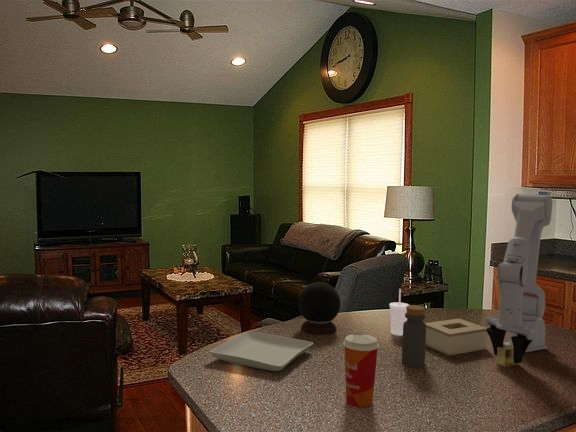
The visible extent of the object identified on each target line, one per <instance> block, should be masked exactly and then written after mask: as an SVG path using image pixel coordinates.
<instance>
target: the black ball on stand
mask: <svg viewBox="0 0 576 432" xmlns="http://www.w3.org/2000/svg"><path fill="white" fill-rule="evenodd" d="M340 309H341V298H340V295H339V292H338V291H337V290H336V289H335V287H334V286H332V285H331V284H329V283H327V282H323V281H317V282H316V281H315V282H313V283H309V284H307V286H305V287H304V288H303V289H302V291H301V292H300V294H299V296H298V310H299V313H300V314H301V316H302V317H303V318H304V319H305V321H304V322H303V323H302V324H301V325H300V330H301V331H302V332H303V333H306V334H309V335H316V336H323V335H324V336H325V335H326V336H327V335H331V334H335V333H336V332H337V328H338V327H337V326H336V325H335V323H334V322H332V321H333V320H335V318H336V317H337V316H338V314H339V313H340Z"/></svg>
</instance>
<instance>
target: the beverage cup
mask: <svg viewBox="0 0 576 432" xmlns="http://www.w3.org/2000/svg"><path fill="white" fill-rule="evenodd" d="M401 293H402V289H401V288H399V289H398V302H397V301H396V302H395V301H394V302H390V303H389V304H388V305H389V310H390V312H389V313H390V314H389V315H390V334H392V335H393V336H394V335H395V336H403V323H404V322H405V321H407V318H406V317H405V313H406V312H407V310H406V306H408V305H410V304H409V303H405V302H401V300H402V299H401V298H402V297H401V296H402V294H401Z"/></svg>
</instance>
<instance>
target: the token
mask: <svg viewBox="0 0 576 432" xmlns="http://www.w3.org/2000/svg"><path fill="white" fill-rule="evenodd" d="M498 364H499V366H501V367H503V366H504V367H503V368H507V367H512V366H517V365H519V363H517V364H516V363H514V349H513V345H503V346H499V347H497V356H496V365H498ZM511 365H512V366H511ZM506 366H507V367H506Z"/></svg>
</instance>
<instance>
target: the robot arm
mask: <svg viewBox="0 0 576 432" xmlns="http://www.w3.org/2000/svg"><path fill="white" fill-rule="evenodd" d="M552 212H553V198H552V196H551V195H550V194H545V195H543V194H522V193H521V194H519V193H516V194H515V195H513V196H512V199H511V213H512V215H513V217H514V220H515V222H516V224H515V230H514V236H513V238H511V239H510V240H509V241H508V243H507V247H506V250H505V252H504V258H503V261H502V262H500V263H499V264H498V267H497V275H496V276H497V288H498V290H499V294H498V295H499V296H498V297H499V299H498V315H497V318H496V317H492V316H488V317H485V321H484V323H485V324H484V325H485V326H489V327H488V328H487V327H486V328H487V336H489V339H490V342H491V345H492V349H493V354H494V356H496V357H497V347H499V346H505V345H513V349H514V363H516V364H517V363H518V364H521V363H522V361H523V360H524V356H525V354H526V353H530V352H536V351H540V350H546V349H547V348H548V346H546V345H545V344H546V343H545V342H546V341H545V340H546V322H545V320H544V319H543V317H544V315H545V310H546V292H545V291H544V290H543V289H542V288H541V287H540V286H539V285H538V284H537V273H538V264H539V257H540V246H541V237H542V232H543V229H544V227H547V226H549V225H550V224H551V221H552ZM526 293H527V294H526ZM507 332H509V341H505V342H504V340H505V337H506V334H507ZM518 364H517V365H518Z"/></svg>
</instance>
